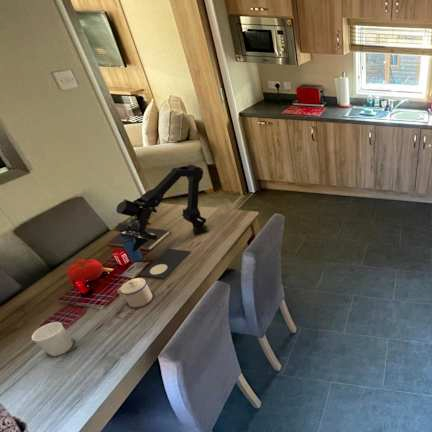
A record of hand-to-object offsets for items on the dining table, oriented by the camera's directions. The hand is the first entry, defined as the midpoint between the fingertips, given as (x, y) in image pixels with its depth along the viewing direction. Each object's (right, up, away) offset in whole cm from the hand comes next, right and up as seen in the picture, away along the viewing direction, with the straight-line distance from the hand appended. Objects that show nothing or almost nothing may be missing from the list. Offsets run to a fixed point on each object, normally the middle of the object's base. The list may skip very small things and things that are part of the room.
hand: (129, 250), depth 146 cm
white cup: (0, -33, -30) cm, 45 cm away
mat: (+11, -8, +9) cm, 16 cm away
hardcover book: (-13, +3, +24) cm, 28 cm away
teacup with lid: (+12, -21, -10) cm, 26 cm away
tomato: (-18, -13, -1) cm, 22 cm away
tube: (0, -5, +5) cm, 7 cm away
